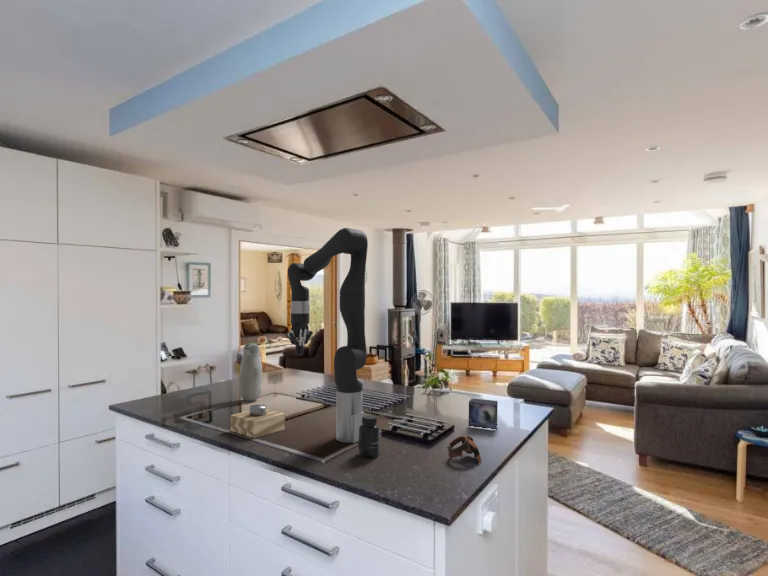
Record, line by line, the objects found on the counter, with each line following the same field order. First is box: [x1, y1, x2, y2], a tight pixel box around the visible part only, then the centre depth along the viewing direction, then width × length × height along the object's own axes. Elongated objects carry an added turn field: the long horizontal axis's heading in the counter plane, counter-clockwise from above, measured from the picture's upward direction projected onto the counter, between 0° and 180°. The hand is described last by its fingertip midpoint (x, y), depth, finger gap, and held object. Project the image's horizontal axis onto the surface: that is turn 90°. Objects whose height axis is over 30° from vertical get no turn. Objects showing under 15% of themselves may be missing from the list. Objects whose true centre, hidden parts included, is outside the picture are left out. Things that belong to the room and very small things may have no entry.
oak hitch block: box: [230, 408, 286, 439], centre depth 163 cm, size 14×14×6 cm
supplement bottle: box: [357, 414, 381, 459], centre depth 139 cm, size 7×7×12 cm
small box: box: [468, 398, 499, 430], centre depth 169 cm, size 11×6×10 cm, turn 68°
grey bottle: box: [239, 342, 263, 402], centre depth 210 cm, size 10×10×28 cm
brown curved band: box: [446, 435, 482, 464], centre depth 136 cm, size 12×10×8 cm
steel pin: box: [249, 403, 267, 417], centre depth 163 cm, size 6×6×8 cm
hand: (299, 354), depth 175 cm, fingers closed
